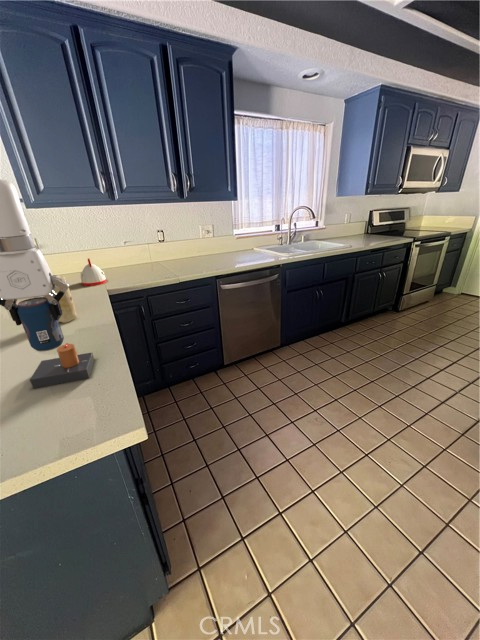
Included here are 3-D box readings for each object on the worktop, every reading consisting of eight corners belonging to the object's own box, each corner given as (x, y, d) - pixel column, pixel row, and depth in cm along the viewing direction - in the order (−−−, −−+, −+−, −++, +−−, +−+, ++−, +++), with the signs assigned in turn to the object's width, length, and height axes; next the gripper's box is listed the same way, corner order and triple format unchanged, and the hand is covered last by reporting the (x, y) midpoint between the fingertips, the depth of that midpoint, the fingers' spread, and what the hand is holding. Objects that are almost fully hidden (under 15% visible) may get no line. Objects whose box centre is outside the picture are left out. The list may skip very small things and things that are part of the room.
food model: (78, 315, 119) (65, 272, 111) (77, 321, 114) (64, 276, 106) (52, 320, 115) (37, 275, 107) (51, 326, 110) (34, 279, 102)
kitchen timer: (104, 278, 177) (99, 255, 170) (108, 283, 166) (102, 259, 160) (81, 281, 170) (75, 258, 164) (83, 287, 159) (76, 262, 153)
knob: (77, 366, 77) (71, 349, 75) (60, 368, 76) (54, 351, 74) (80, 358, 81) (75, 341, 79) (64, 361, 80) (58, 344, 78)
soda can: (33, 343, 68) (16, 299, 63) (65, 336, 71) (51, 294, 66) (31, 356, 62) (12, 308, 57) (65, 348, 65) (50, 302, 60)
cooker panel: (33, 388, 73) (29, 379, 72) (44, 368, 82) (41, 360, 80) (89, 378, 77) (86, 369, 76) (94, 360, 86) (92, 351, 84)
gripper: (-51, 250, 50) (-12, 333, 58) (54, 244, 55) (77, 321, 63) (-29, 244, 57) (3, 319, 64) (63, 239, 62) (83, 310, 69)
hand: (39, 320), depth 63 cm, fingers closed on soda can, 7 cm apart
